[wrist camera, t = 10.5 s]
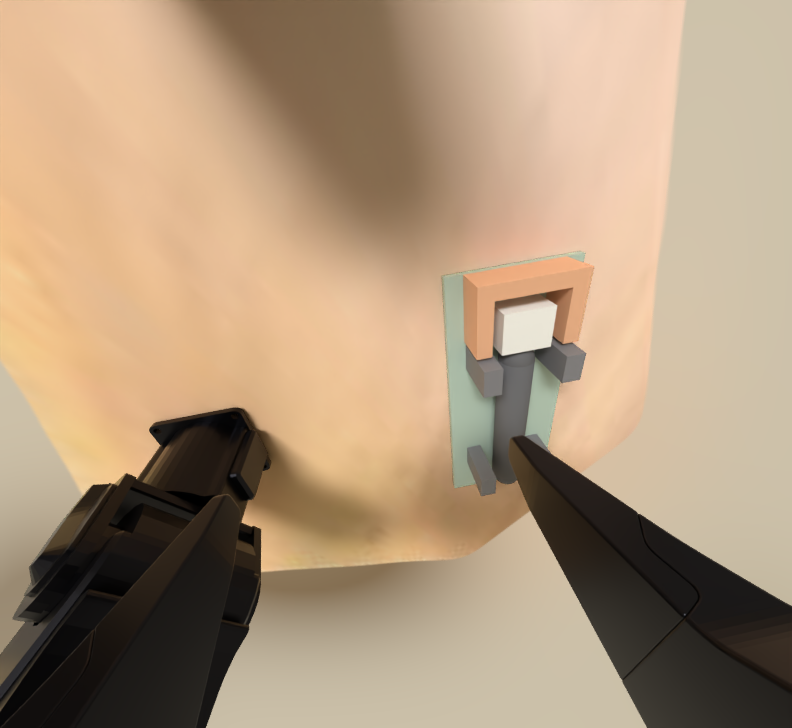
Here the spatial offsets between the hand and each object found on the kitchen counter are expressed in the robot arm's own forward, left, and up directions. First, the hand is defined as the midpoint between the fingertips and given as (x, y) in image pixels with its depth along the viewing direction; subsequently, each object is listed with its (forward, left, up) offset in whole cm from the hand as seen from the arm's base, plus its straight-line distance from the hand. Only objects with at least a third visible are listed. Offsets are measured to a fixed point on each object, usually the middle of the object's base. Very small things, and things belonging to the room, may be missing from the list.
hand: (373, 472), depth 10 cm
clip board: (+10, -8, -12) cm, 18 cm away
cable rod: (+10, -9, -12) cm, 17 cm away
